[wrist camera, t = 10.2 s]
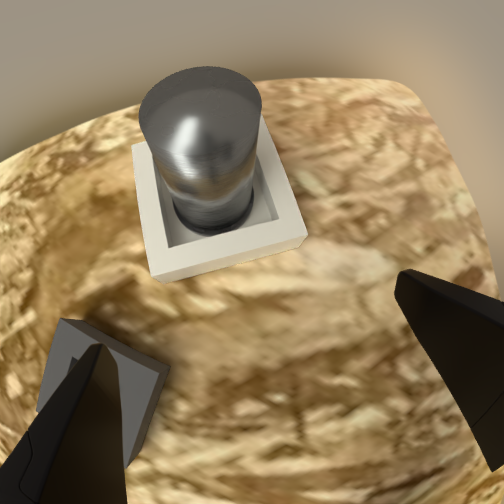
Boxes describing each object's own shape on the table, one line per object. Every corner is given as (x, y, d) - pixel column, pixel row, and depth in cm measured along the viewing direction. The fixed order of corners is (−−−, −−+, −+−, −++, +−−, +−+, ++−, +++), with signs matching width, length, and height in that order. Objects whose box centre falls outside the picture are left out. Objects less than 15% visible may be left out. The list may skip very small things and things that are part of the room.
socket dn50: (298, 247, 19) (308, 234, 16) (163, 284, 18) (151, 276, 15) (258, 137, 21) (261, 113, 18) (142, 166, 20) (131, 145, 17)
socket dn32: (139, 452, 15) (126, 468, 12) (57, 403, 15) (35, 410, 13) (170, 366, 17) (159, 373, 14) (81, 320, 17) (60, 317, 14)
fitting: (208, 253, 18) (183, 185, 9) (159, 197, 19) (112, 107, 10) (270, 202, 19) (295, 109, 10) (218, 152, 20) (211, 50, 11)
